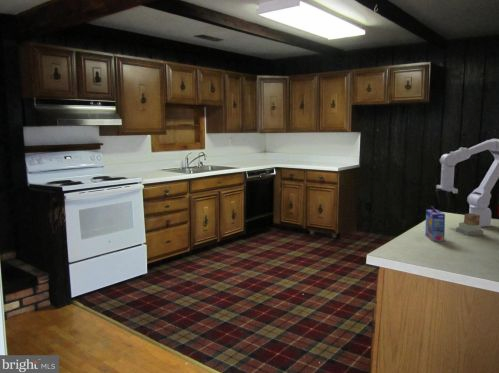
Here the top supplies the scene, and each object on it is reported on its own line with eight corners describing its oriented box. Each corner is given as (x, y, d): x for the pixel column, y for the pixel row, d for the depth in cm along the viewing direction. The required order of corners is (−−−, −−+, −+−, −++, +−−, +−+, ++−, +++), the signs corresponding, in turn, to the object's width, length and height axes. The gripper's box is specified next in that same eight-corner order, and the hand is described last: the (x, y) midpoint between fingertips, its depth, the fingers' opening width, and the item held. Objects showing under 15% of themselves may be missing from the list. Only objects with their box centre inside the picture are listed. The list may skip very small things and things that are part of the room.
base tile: (471, 231, 196) (471, 226, 196) (483, 235, 188) (483, 230, 188) (456, 232, 195) (456, 227, 194) (467, 237, 187) (467, 231, 187)
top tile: (470, 226, 195) (470, 221, 195) (481, 230, 189) (481, 224, 188) (458, 227, 193) (459, 222, 193) (469, 231, 187) (469, 226, 187)
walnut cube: (472, 222, 193) (473, 213, 192) (479, 225, 188) (479, 215, 187) (463, 223, 192) (464, 213, 191) (470, 225, 188) (470, 215, 187)
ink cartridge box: (424, 235, 189) (425, 204, 187) (436, 235, 188) (438, 204, 186) (431, 241, 179) (433, 208, 177) (444, 241, 178) (446, 208, 176)
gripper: (431, 176, 209) (430, 202, 211) (448, 180, 194) (447, 208, 196) (444, 176, 209) (442, 202, 211) (462, 179, 195) (460, 207, 197)
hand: (445, 205), depth 204 cm, fingers open, 7 cm apart
